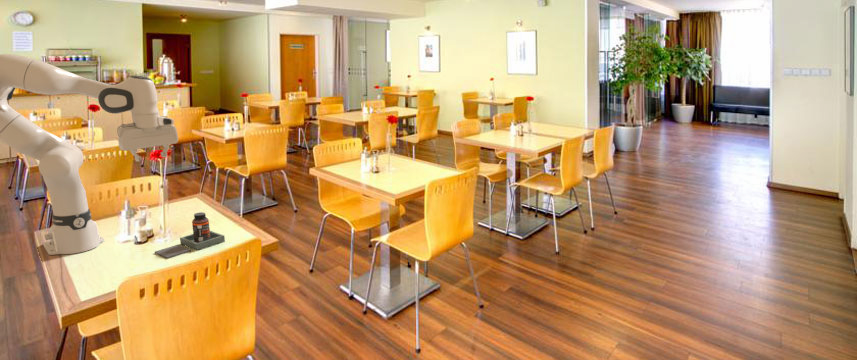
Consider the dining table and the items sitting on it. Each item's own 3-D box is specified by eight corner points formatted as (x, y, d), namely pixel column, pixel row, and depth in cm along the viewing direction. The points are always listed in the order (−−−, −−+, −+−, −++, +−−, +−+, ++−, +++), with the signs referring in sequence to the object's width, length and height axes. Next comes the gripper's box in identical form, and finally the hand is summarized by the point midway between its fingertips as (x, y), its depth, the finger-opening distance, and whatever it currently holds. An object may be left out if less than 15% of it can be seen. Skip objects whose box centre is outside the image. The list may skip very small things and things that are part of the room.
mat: (154, 253, 196) (154, 251, 195) (178, 245, 203) (178, 244, 202) (167, 258, 190) (167, 257, 190) (191, 251, 197) (191, 249, 197)
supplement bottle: (204, 244, 202) (201, 216, 200) (191, 243, 204) (187, 215, 201) (214, 239, 208) (210, 211, 205) (200, 238, 209) (197, 211, 207)
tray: (180, 243, 205) (179, 237, 204) (208, 235, 214) (207, 229, 213) (197, 250, 198) (196, 244, 197) (224, 241, 207) (224, 235, 207)
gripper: (120, 125, 181) (126, 165, 184) (178, 119, 197) (182, 155, 200) (112, 124, 184) (118, 162, 188) (169, 117, 200) (173, 153, 204)
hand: (151, 159), depth 194 cm, fingers open, 8 cm apart
